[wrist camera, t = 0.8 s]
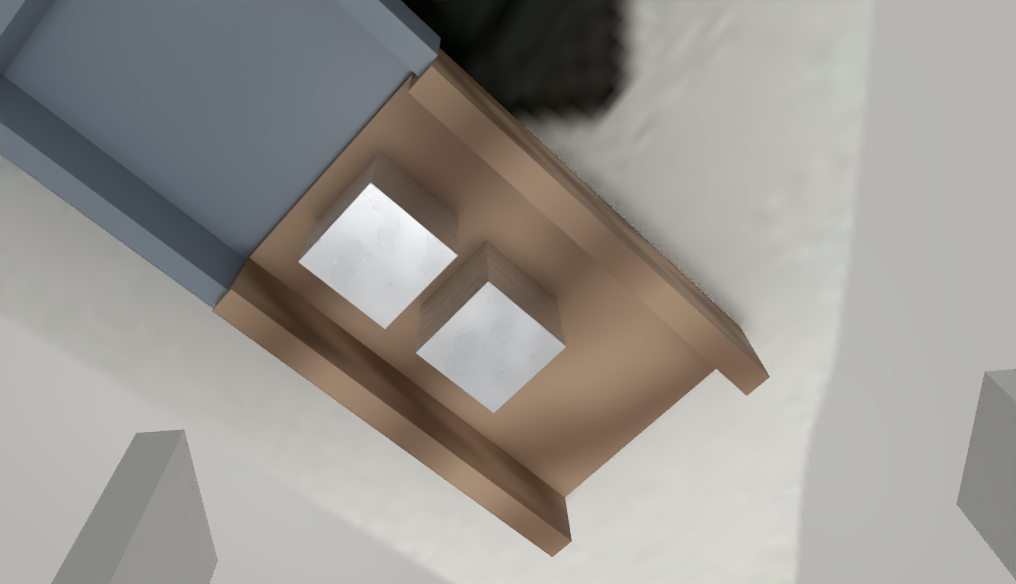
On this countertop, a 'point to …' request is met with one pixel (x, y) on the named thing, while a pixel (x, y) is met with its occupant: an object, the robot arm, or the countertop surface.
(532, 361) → the light grey cube
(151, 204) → the tray
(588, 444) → the channel
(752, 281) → the countertop surface
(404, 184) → the grey cube
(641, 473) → the countertop surface
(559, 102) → the countertop surface
